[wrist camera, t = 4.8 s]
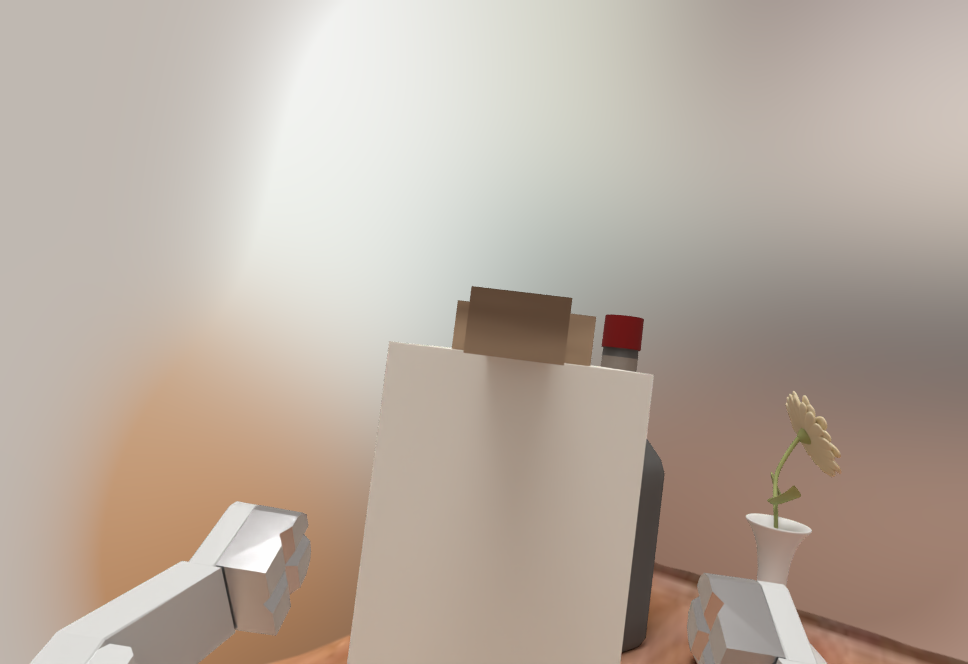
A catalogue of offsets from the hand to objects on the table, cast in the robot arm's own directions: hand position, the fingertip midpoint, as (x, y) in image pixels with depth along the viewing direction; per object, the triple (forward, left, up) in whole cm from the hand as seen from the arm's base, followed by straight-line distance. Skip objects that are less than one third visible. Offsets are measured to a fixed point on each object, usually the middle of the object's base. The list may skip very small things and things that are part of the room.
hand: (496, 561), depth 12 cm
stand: (+8, +22, -21) cm, 31 cm away
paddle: (+5, +14, +4) cm, 16 cm away
